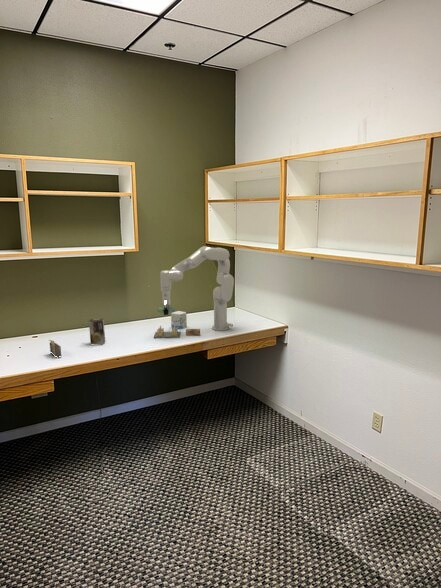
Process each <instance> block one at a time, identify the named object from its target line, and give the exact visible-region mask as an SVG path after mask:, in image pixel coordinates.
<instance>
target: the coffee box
mask: <svg viewBox="0 0 441 588" xmlns="http://www.w3.org/2000/svg"><path fill="white" fill-rule="evenodd" d="M88 326H89V339H90V345H91V344H100V345H105V344H106V332H105V320H104V318H93V319H90V318H89V321H88Z"/></svg>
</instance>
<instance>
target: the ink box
mask: <svg viewBox="0 0 441 588" xmlns="http://www.w3.org/2000/svg"><path fill="white" fill-rule="evenodd" d="M187 320H188V319H187V312H186V311H181V310H178V311H177V310H175V312H172V313H170V325H171V327H170V328H171V329H172V328H174V325H175V328H178V330H181V329H182V330H183V329H185V328H186V329H187V328H188V327H187V326H188V323H187V322H188V321H187Z"/></svg>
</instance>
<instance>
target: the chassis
mask: <svg viewBox="0 0 441 588" xmlns="http://www.w3.org/2000/svg"><path fill="white" fill-rule="evenodd" d="M181 333H182V332H181V331H180V330H179V329H178V328H175V325H174V328H171V331H165V328H162V325H159V327H157V331H155V333H154V336H153V339H180V338H181Z"/></svg>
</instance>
